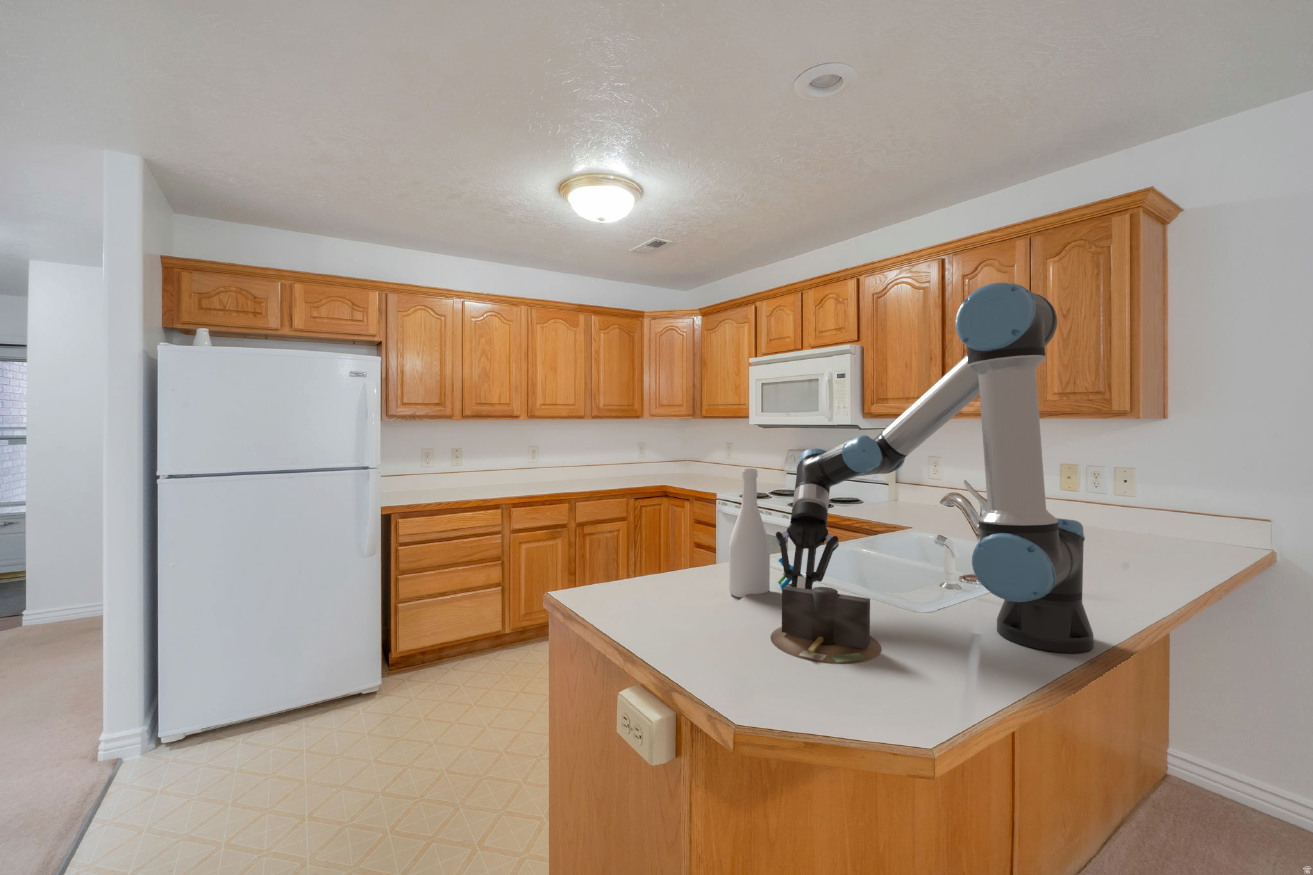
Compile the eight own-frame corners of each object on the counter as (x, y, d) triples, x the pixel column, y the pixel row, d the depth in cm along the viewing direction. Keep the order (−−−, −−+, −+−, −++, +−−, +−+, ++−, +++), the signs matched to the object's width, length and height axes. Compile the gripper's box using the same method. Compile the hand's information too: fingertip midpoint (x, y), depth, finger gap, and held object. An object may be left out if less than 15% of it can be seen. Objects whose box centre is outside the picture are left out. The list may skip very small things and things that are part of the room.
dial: (889, 642, 105) (889, 633, 105) (869, 682, 89) (869, 672, 89) (789, 623, 115) (789, 615, 115) (754, 656, 99) (754, 647, 99)
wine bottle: (721, 591, 137) (721, 467, 136) (754, 586, 141) (754, 465, 141) (743, 602, 129) (744, 470, 128) (777, 597, 133) (778, 468, 132)
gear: (819, 587, 135) (788, 557, 135) (802, 606, 134) (771, 575, 134) (805, 581, 146) (776, 553, 146) (789, 598, 145) (761, 570, 145)
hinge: (870, 644, 100) (871, 593, 100) (857, 668, 90) (857, 611, 90) (787, 628, 108) (787, 581, 108) (766, 648, 98) (767, 596, 98)
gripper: (842, 522, 124) (835, 623, 109) (781, 518, 128) (767, 615, 113) (840, 501, 118) (834, 604, 103) (777, 498, 123) (762, 596, 108)
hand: (799, 610), depth 108 cm, fingers closed
